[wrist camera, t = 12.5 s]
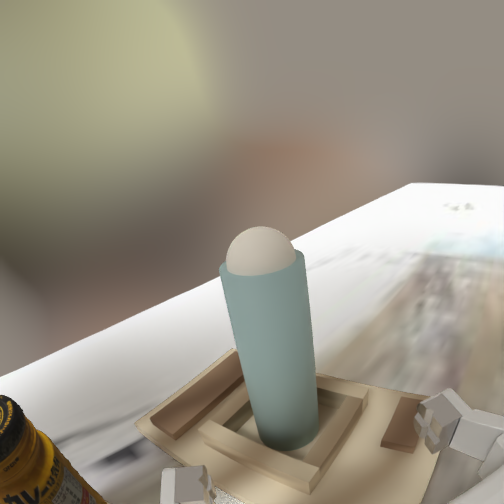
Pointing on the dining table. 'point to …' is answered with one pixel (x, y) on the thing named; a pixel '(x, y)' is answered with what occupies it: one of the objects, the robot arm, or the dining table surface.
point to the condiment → (36, 465)
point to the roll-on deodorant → (273, 335)
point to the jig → (306, 458)
